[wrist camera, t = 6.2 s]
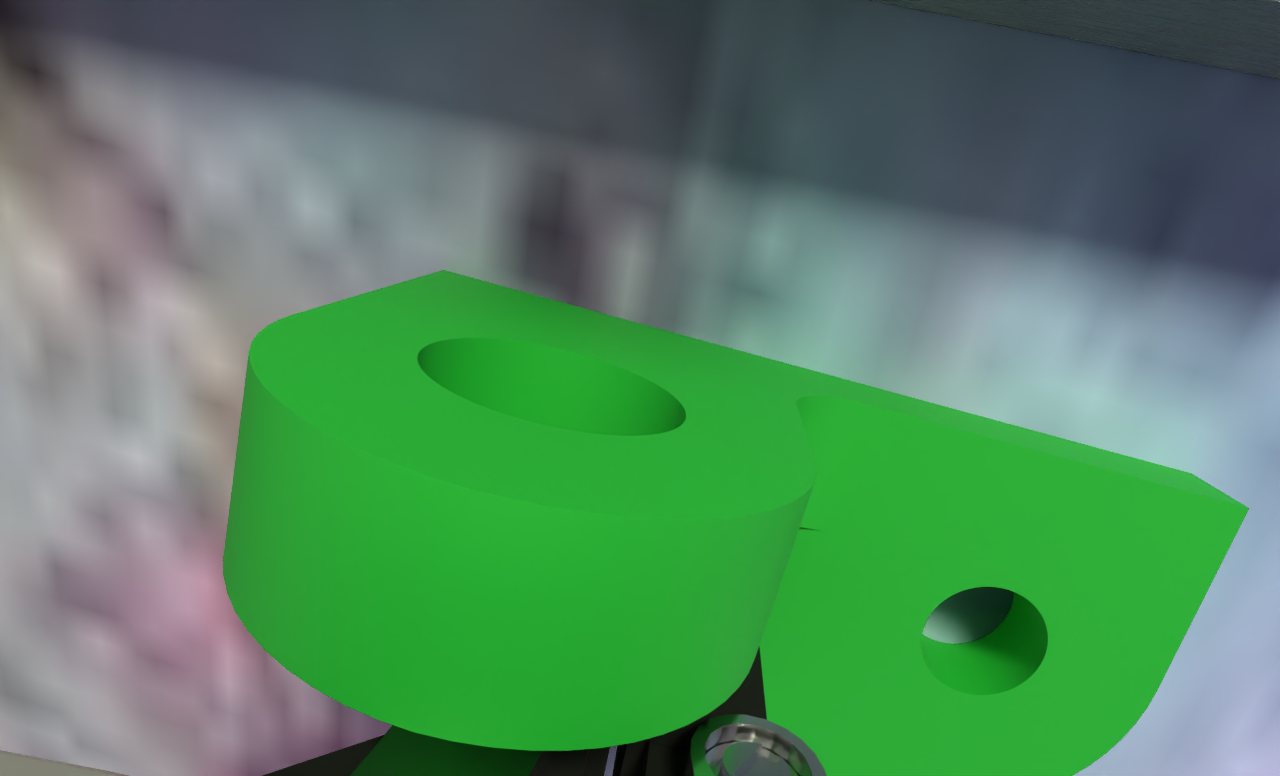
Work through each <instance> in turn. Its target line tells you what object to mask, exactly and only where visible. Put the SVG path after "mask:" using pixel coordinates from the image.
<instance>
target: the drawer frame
mask: <svg viewBox="0 0 1280 776" xmlns="http://www.w3.org/2000/svg"><path fill="white" fill-rule="evenodd" d="M871 1H877V2H882V3H887V4H892V5H897V6H903V7H908V8H913V9H918V10H923V11H928V12H934V13H939V14H944V15H949V16H954V17H960V18H965V19H970V20H975V21H980V22H986V23H991V24H996V25H1001V26H1006V27H1011V28H1017V29H1022V30H1027V31H1032V32H1037V33H1043V34H1048V35H1053V36H1058V37H1063V38H1069V39H1074V40H1079V41H1084V42H1089V43H1095V44H1100V45H1105V46H1110V47H1115V48H1120V49H1126V50H1131V51H1136V52H1141V53H1146V54H1152V55H1157V56H1162V57H1167V58H1172V59H1178V60H1183V61H1188V62H1193V63H1198V64H1203V65H1209V66H1214V67H1219V68H1224V69H1229V70H1235V71H1240V72H1245V73H1250V74H1255V75H1261V76H1266V77H1271V78H1276V79H1280V0H871Z"/></svg>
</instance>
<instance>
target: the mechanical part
mask: <svg viewBox="0 0 1280 776" xmlns="http://www.w3.org/2000/svg"><path fill="white" fill-rule="evenodd" d="M1248 510H1249V508H1248V507H1246V506H1244V505H1243V504H1241V503H1240V502H1238V501H1236V500H1235V499H1233V498H1231V497H1230V496H1228V495H1226V494H1225V493H1223V492H1221V491H1220V490H1218V489H1216V488H1215V487H1213V486H1211V485H1210V484H1208V483H1206V482H1205V481H1203V480H1201V479H1200V478H1198V477H1197V476H1195V475H1193V474H1191V473H1188V472H1184V471H1180V470H1177V469H1173V468H1169V467H1166V466H1162V465H1158V464H1155V463H1151V462H1147V461H1144V460H1140V459H1136V458H1132V457H1129V456H1125V455H1121V454H1118V453H1114V452H1110V451H1107V450H1103V449H1099V448H1096V447H1092V446H1088V445H1085V444H1081V443H1077V442H1074V441H1070V440H1066V439H1063V438H1059V437H1055V436H1052V435H1048V434H1044V433H1041V432H1037V431H1033V430H1029V429H1026V428H1022V427H1018V426H1015V425H1011V424H1007V423H1004V422H1000V421H996V420H993V419H989V418H985V417H982V416H978V415H974V414H971V413H967V412H963V411H960V410H956V409H952V408H949V407H945V406H941V405H938V404H934V403H930V402H927V401H923V400H919V399H915V398H912V397H908V396H904V395H901V394H897V393H893V392H890V391H886V390H882V389H879V388H875V387H871V386H868V385H864V384H860V383H857V382H853V381H849V380H846V379H842V378H838V377H835V376H831V375H827V374H824V373H820V372H816V371H813V370H809V369H805V368H801V367H798V366H794V365H790V364H787V363H783V362H779V361H776V360H772V359H768V358H765V357H761V356H757V355H754V354H750V353H746V352H743V351H739V350H735V349H732V348H728V347H724V346H721V345H717V344H713V343H710V342H706V341H702V340H699V339H695V338H691V337H687V336H684V335H680V334H676V333H673V332H669V331H665V330H662V329H658V328H654V327H651V326H647V325H643V324H640V323H636V322H632V321H629V320H625V319H621V318H618V317H614V316H610V315H607V314H603V313H599V312H596V311H592V310H588V309H584V308H581V307H577V306H573V305H570V304H566V303H562V302H559V301H555V300H551V299H548V298H544V297H540V296H537V295H533V294H529V293H526V292H522V291H518V290H515V289H511V288H507V287H504V286H500V285H496V284H493V283H489V282H485V281H482V280H478V279H474V278H470V277H467V276H463V275H459V274H456V273H452V272H448V271H445V270H442V271H439V272H436V273H432V274H429V275H426V276H422V277H419V278H415V279H412V280H409V281H405V282H402V283H399V284H395V285H392V286H388V287H385V288H382V289H378V290H375V291H372V292H368V293H365V294H361V295H358V296H355V297H351V298H348V299H345V300H341V301H338V302H334V303H331V304H328V305H324V306H321V307H318V308H314V309H311V310H307V311H304V312H301V313H297V314H294V315H291V316H288V317H285V318H283V319H280V320H278V321H276V322H274V323H272V324H270V325H268V326H267V327H265V328H264V329H263V330H262V331H260V332H259V333H258V334H257V336H256V337H255V338H254V340H253V341H252V343H251V347H250V350H249V356H248V364H247V372H246V380H245V388H244V396H243V404H242V412H241V420H240V428H239V436H238V444H237V452H236V461H235V469H234V477H233V485H232V493H231V501H230V509H229V517H228V525H227V533H226V541H225V549H224V557H223V575H224V580H225V584H226V589H227V593H228V595H229V598H230V600H231V602H232V605H233V607H234V610H235V612H236V613H237V615H238V616H239V618H240V619H241V621H242V623H243V624H244V626H245V627H246V629H247V630H248V632H249V633H250V634H251V635H252V636H253V637H254V638H255V639H256V641H257V642H258V643H259V644H260V645H261V646H262V647H263V648H264V650H265V651H266V652H268V653H269V654H270V655H271V656H272V657H273V658H275V659H276V660H277V661H278V662H279V663H280V664H281V665H283V666H284V667H285V668H286V669H287V670H289V671H290V672H291V673H293V674H294V675H296V676H297V677H299V678H300V679H302V680H303V681H304V682H306V683H307V684H309V685H310V686H312V687H313V688H315V689H317V690H318V691H320V692H322V693H324V694H326V695H327V696H329V697H331V698H333V699H335V700H336V701H338V702H340V703H342V704H344V705H346V706H348V707H350V708H353V709H355V710H357V711H359V712H362V713H364V714H366V715H368V716H371V717H373V718H375V719H377V720H380V721H383V722H386V723H389V724H392V725H394V726H397V727H400V728H403V729H406V730H409V731H412V732H415V733H419V734H423V735H428V736H432V737H436V738H440V739H444V740H449V741H453V742H460V743H466V744H472V745H479V746H485V747H492V748H504V749H516V750H529V751H569V750H582V749H595V748H604V747H610V746H616V745H622V744H628V743H634V742H638V741H641V740H645V739H649V738H653V737H656V736H660V735H663V734H666V733H668V732H671V731H674V730H676V729H679V728H681V727H684V726H686V725H688V724H690V723H692V722H694V721H696V720H698V719H700V718H701V717H703V716H705V715H707V714H709V713H710V712H711V711H713V710H714V709H716V708H717V707H718V706H720V705H721V704H722V703H724V702H725V701H726V700H727V699H728V698H729V697H730V696H731V695H732V694H733V693H734V692H735V691H736V690H737V689H738V688H739V687H740V685H741V684H742V682H743V681H744V679H745V678H746V676H747V675H748V673H749V671H750V669H751V666H752V664H753V662H754V659H755V657H756V654H757V651H758V648H759V646H760V656H761V666H762V676H763V686H764V696H765V705H766V715H767V720H768V721H770V722H773V723H775V724H777V725H780V726H782V727H784V728H786V729H787V730H789V731H790V732H791V733H793V734H794V735H796V736H797V737H799V738H800V739H802V740H803V741H804V742H805V743H806V744H807V746H808V747H809V748H810V749H811V750H812V751H813V752H814V753H815V754H816V756H817V757H818V759H819V761H820V763H821V764H822V766H823V768H824V770H825V772H826V775H827V776H1073V775H1075V774H1076V773H1078V772H1079V771H1081V770H1083V769H1084V768H1086V767H1088V766H1089V765H1091V764H1092V763H1093V762H1095V761H1096V760H1098V759H1099V758H1100V757H1102V756H1103V755H1104V754H1106V753H1107V752H1108V751H1109V750H1110V749H1111V748H1112V747H1114V746H1115V745H1116V744H1117V743H1118V742H1119V741H1120V740H1121V739H1122V738H1123V737H1124V736H1125V735H1126V734H1127V733H1128V732H1129V730H1130V729H1131V728H1132V727H1133V726H1134V725H1135V724H1136V722H1137V721H1138V720H1139V718H1140V717H1141V716H1142V714H1143V713H1144V711H1145V710H1146V709H1147V707H1148V705H1149V704H1150V702H1151V700H1152V698H1153V697H1154V695H1155V693H1156V692H1157V690H1158V688H1159V686H1160V684H1161V682H1162V680H1163V678H1164V676H1165V674H1166V672H1167V670H1168V668H1169V666H1170V664H1171V662H1172V660H1173V658H1174V656H1175V654H1176V652H1177V650H1178V648H1179V646H1180V644H1181V642H1182V640H1183V638H1184V636H1185V634H1186V632H1187V630H1188V628H1189V626H1190V624H1191V622H1192V620H1193V619H1194V617H1195V615H1196V613H1197V611H1198V609H1199V607H1200V605H1201V603H1202V601H1203V599H1204V597H1205V595H1206V593H1207V591H1208V589H1209V587H1210V585H1211V583H1212V581H1213V579H1214V577H1215V575H1216V573H1217V571H1218V569H1219V567H1220V565H1221V563H1222V561H1223V559H1224V557H1225V555H1226V553H1227V551H1228V549H1229V547H1230V545H1231V543H1232V541H1233V539H1234V537H1235V535H1236V533H1237V531H1238V529H1239V528H1240V526H1241V524H1242V522H1243V520H1244V518H1245V516H1246V514H1247V512H1248ZM977 587H998V588H1003V589H1007V590H1010V591H1013V592H1014V598H1013V603H1012V607H1011V609H1010V612H1009V614H1008V615H1007V617H1006V618H1005V620H1004V621H1003V622H1002V624H1001V625H1000V626H999V627H998V628H996V629H995V630H994V631H993V632H991V633H990V634H988V635H986V636H984V637H983V638H980V639H978V640H975V641H971V642H967V643H959V644H951V643H943V642H938V641H935V640H932V639H930V638H928V637H926V636H924V635H922V632H923V629H924V626H925V623H926V621H927V619H928V618H929V616H930V614H931V613H932V612H933V611H934V609H935V608H936V607H937V606H938V605H939V604H941V603H942V602H943V601H944V600H946V599H947V598H949V597H950V596H952V595H954V594H956V593H959V592H961V591H964V590H967V589H971V588H977Z"/></svg>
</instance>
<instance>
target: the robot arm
mask: <svg viewBox="0 0 1280 776" xmlns="http://www.w3.org/2000/svg"><path fill="white" fill-rule="evenodd" d="M609 749H610V747H604V748H595V749H582V750H569V751H529V750H516V749H504V748H492V747H485V746H479V745H472V744H466V743H460V742H453V741H449V740H444V739H440V738H436V737H432V736H428V735H423V734H419V733H415V732H412V731H409V730H406V729H403V728H400V727H397V726H394V725H393V726H392V727H391V728H390V729H389V730H388V732H387V733H386V734H385V735H383V736H380V737H377V738H374V739H371V740H368V741H365V742H362V743H359V744H356V745H353V746H350V747H347V748H344V749H341V750H338V751H335V752H332V753H329V754H326V755H323V756H320V757H317V758H314V759H311V760H308V761H305V762H302V763H299V764H296V765H293V766H290V767H287V768H284V769H281V770H278V771H275V772H272V773H269V774H266V775H263V776H604V772H605V767H606V762H607V758H608V753H609ZM0 776H128V775H124V774H119V773H115V772H110V771H105V770H100V769H94V768H89V767H84V766H79V765H74V764H68V763H63V762H58V761H53V760H48V759H42V758H37V757H32V756H27V755H22V754H16V753H11V752H6V751H1V750H0ZM612 776H827V775H826V772H825V770H824V768H823V766H822V764H821V763H820V761H819V759H818V757H817V756H816V754H815V753H814V752H813V751H812V750H811V749H810V748H809V747H808V746H807V744H806V743H805V742H804V741H803V740H802V739H800V738H799V737H797V736H796V735H794V734H793V733H791V732H790V731H789V730H787V729H786V728H784V727H782V726H780V725H777V724H775V723H773V722H770V721H768V720H767V715H766V705H765V696H764V686H763V676H762V666H761V656H760V646H759V648H758V651H757V654H756V657H755V659H754V662H753V664H752V666H751V669H750V671H749V673H748V675H747V676H746V678H745V679H744V681H743V682H742V684H741V685H740V687H739V688H738V689H737V690H736V691H735V692H734V693H733V694H732V695H731V696H730V697H729V698H728V699H727V700H726V701H725V702H724V703H722V704H721V705H720V706H718V707H717V708H716V709H714V710H713V711H711V712H710V713H709V714H707V715H705V716H703V717H701V718H700V719H698V720H696V721H694V722H692V723H690V724H688V725H686V726H684V727H681V728H679V729H676V730H674V731H671V732H668V733H666V734H663V735H660V736H656V737H653V738H649V739H645V740H641V741H638V742H634V743H628V744H622V745H618V746H617V752H616V758H615V763H614V769H613V775H612Z"/></svg>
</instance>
